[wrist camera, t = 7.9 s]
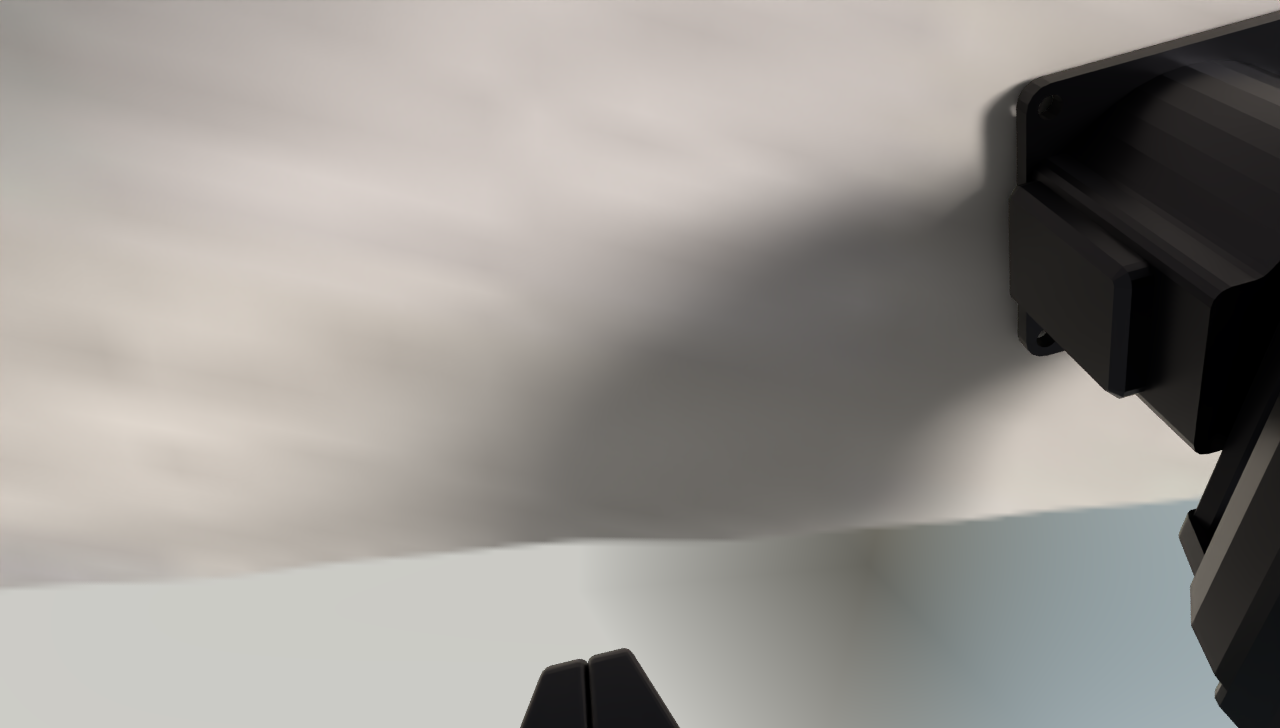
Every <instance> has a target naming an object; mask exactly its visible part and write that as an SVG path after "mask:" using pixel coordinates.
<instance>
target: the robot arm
mask: <svg viewBox="0 0 1280 728" xmlns="http://www.w3.org/2000/svg"><path fill="white" fill-rule="evenodd" d="M1050 95H1052V96H1053V100H1052V104H1051V106H1050V107H1049V108H1048V109H1047V110H1046V111H1045V112H1043V113H1041V114H1039V113H1038V109H1039V105H1040V103H1041V102H1042V101H1043V100H1044V98H1046V97H1048V96H1050ZM1016 128H1017V186H1016V187H1015V188H1014V190H1013V192H1012V194H1011V196H1010V198H1009V268H1010V295H1011V297H1012V298H1013V299H1014V300H1015V301H1016V302H1017V303H1018V337H1019V341H1020V342H1021V343H1022V344H1023V345H1024V346H1025V347H1026V348H1027V350H1028V351H1029V352H1030V353H1031V354H1033V355H1036V356H1047V355H1051V354H1054V353H1058V352H1061V351H1066V352H1067V353H1068V354H1069V355H1070V356H1071V357H1072V358H1073V359H1074V360H1075V361H1076V362H1077V363H1078V364H1079V365H1080V366H1081V367H1082V368H1083V369H1084V370H1085V371H1086V372H1087V373H1088V374H1089V375H1090V376H1091V377H1092V378H1093V379H1094V380H1095V381H1096V382H1097V383H1098V384H1099V385H1100V386H1101V387H1102V388H1103V389H1104V390H1105V391H1107V392H1109V393H1110V394H1112V395H1114V396H1116V397H1117V398H1119V399H1120V398H1124V397H1127V396H1131V395H1134V394H1135V395H1136V396H1138V397H1139V398H1140V399H1141V400H1142V401H1143V402H1144V403H1145V404H1146V405H1147V406H1148V407H1149V408H1150V409H1151V410H1152V411H1153V412H1154V413H1155V414H1156V415H1157V416H1158V417H1159V418H1161V419H1162V420H1163V421H1164V422H1165V423H1166V424H1167V425H1168V426H1169V427H1170V428H1171V429H1172V430H1173V431H1174V432H1175V433H1176V434H1177V435H1178V436H1179V437H1180V438H1181V439H1182V440H1184V441H1185V442H1186V443H1187V444H1188V445H1189V446H1190V447H1191V448H1192V449H1193V450H1194V451H1195V452H1197V453H1199V454H1210V453H1213V452H1217V451H1220V450H1222V452H1221V455H1220V457H1219V459H1218V461H1217V464H1216V466H1215V468H1214V470H1213V473H1212V475H1211V477H1210V479H1209V482H1208V484H1207V486H1206V488H1205V491H1204V493H1203V495H1202V497H1201V500H1200V502H1199V504H1198V507H1197V509H1193V510H1190V511H1189V512H1188V514H1187V516H1186V518H1185V521H1184V523H1183V525H1182V527H1181V530H1180V532H1179V539H1180V542H1181V544H1182V547H1183V549H1184V552H1185V554H1186V557H1187V559H1188V561H1189V564H1190V567H1191V569H1192V572H1193V574H1194V579H1193V581H1192V583H1191V586H1190V597H1191V626H1192V628H1193V630H1194V632H1195V635H1196V636H1197V639H1198V640H1199V643H1200V645H1201V647H1202V649H1203V651H1204V653H1205V656H1206V658H1207V660H1208V662H1209V664H1210V666H1211V668H1212V670H1213V673H1214V674H1215V676H1216V677H1217V679H1218V680H1219V681H1220V682H1219V684H1218V686H1217V687H1216V689H1215V699H1216V701H1217V703H1218V705H1219V707H1220V708H1221V709H1222V710H1223V711H1224V712H1225V713H1226V714H1227V716H1228V717H1229V718H1230V719H1231V720H1232V721H1233V722H1234V723H1235V725H1236V726H1237V727H1238V728H1280V11H1277V12H1274V13H1270V14H1266V15H1263V16H1259V17H1256V18H1252V19H1248V20H1245V21H1241V22H1238V23H1234V24H1230V25H1227V26H1223V27H1220V28H1216V29H1212V30H1209V31H1205V32H1202V33H1198V34H1194V35H1191V36H1187V37H1184V38H1180V39H1176V40H1173V41H1169V42H1166V43H1162V44H1158V45H1155V46H1151V47H1148V48H1144V49H1140V50H1137V51H1133V52H1130V53H1126V54H1122V55H1119V56H1115V57H1112V58H1108V59H1104V60H1101V61H1097V62H1094V63H1090V64H1086V65H1083V66H1079V67H1076V68H1072V69H1068V70H1065V71H1061V72H1058V73H1054V74H1050V75H1047V76H1043V77H1040V78H1038V79H1036V80H1034V81H1032V82H1030V83H1029V84H1028V85H1027V86H1026V87H1025V88H1024V89H1023V91H1022V93H1021V94H1020V96H1019V98H1018V102H1017V107H1016ZM1043 330H1045V331H1046V332H1047V333H1046V334H1045V335H1044V336H1042V337H1040V338H1037V337H1038V335H1039V334H1040V333H1041V332H1042V331H1043ZM520 728H680V727H679V726H678V724H677V723H676V721H675V719H674V718H673V716H672V715H671V713H670V712H669V710H668V708H667V707H666V705H665V703H664V702H663V700H662V699H661V697H660V696H659V694H658V692H657V691H656V689H655V688H654V686H653V684H652V683H651V681H650V680H649V678H648V677H647V675H646V673H645V672H644V670H643V669H642V667H641V665H640V664H639V662H638V661H637V659H636V658H635V656H634V654H633V653H632V652H631V651H630V650H629V649H626V648H622V649H618V650H614V651H609V652H606V653H601V654H597V655H594V656H592V657H591V658H590V659H589V661H588V663H587V662H586V661H585V660H583V659H577V660H572V661H568V662H564V663H560V664H556V665H552V666H549V667H547V668H546V669H545V670H544V671H543V672H542V674H541V676H540V678H539V681H538V683H537V686H536V688H535V691H534V693H533V696H532V698H531V701H530V704H529V706H528V709H527V711H526V714H525V716H524V719H523V722H522V724H521V727H520Z"/></svg>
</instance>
